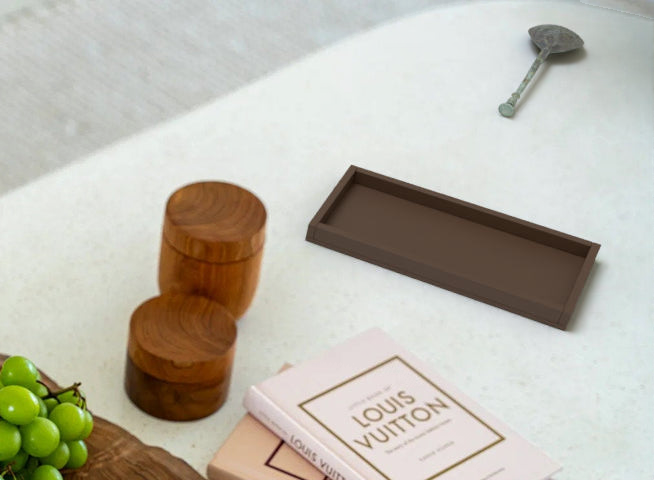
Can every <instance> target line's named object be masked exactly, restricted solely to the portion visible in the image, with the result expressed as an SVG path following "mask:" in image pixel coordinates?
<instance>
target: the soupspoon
mask: <svg viewBox="0 0 654 480" xmlns="http://www.w3.org/2000/svg"><path fill="white" fill-rule="evenodd" d="M527 33H528V36H529V37H530V39H531V40H532V41H533V43H534V44H535V45H536V46H537V47H538V48H539V49H540V52H539V54H538V55H537V57H536V58H535V60H534V62H533V63H532V65H531V66H530V68H529V69H528V71H527V73H526V75H525V77H524V78H523V79H522V81H521V82H520V84H519V86H518V87H517V88H516V91H515V92H513V93H511V97H509V98H508V99H507V100H506V101H505V102H503V103H501V104H499V106H498V107H497V110H498V112H499V114H500V115H501V116H504V117H512V116H513V115H514V114H515V106H516V104H518V100H520V98H521V96H522V93H523V92H524V91H525V89H526V88H527V87H528V85H529V84H530V83H531V81H532V79H533V78H534V77H535V75H536V73H537V71H538V70H539V69H540V67H541V66H542V65H543V63H544V62H545V60H546V59H547V58H548V57H549V55H550V54H559V53H565V52H569V51H573V50H577V49H580V48H582V47H584V45H585V41H584V40H583V38H582V37H581V36H580V35H579V34H577V33H576V32H575V31H574V30H572V29H569V28H567V27H565V26H562V25H559V24H558V25H557V24H551V23H546V24H544V23H543V24H538V25H535V26H532V27H530V28H528V30H527Z"/></svg>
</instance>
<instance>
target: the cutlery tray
mask: <svg viewBox="0 0 654 480" xmlns="http://www.w3.org/2000/svg"><path fill="white" fill-rule="evenodd" d="M304 240H305V241H307V242H309V243H313V244H316V245H318V246H320V247H324V248H327V249H330V250H333V251H336V252H339V253H341V254H344V255H346V256H350V257H352V258H356V259H359V260H362V261H364V262H367V263H370V264H373V265H375V266H378V267H381V268H384V269H386V270H390V271H393V272H396V273H398V274H401V275H404V276H407V277H411V278H413V279H416V280H418V281H421V282H424V283H427V284H429V285H432V286H436V287H439V288H441V289H444V290H447V291H449V292H453V293H456V294H458V295H461V296H463V297H467V298H470V299H473V300H476V301H478V302H482V303H484V304H487V305H490V306H493V307H495V308H498V309H502V310H504V311H507V312H510V313H512V314H516V315H519V316H521V317H524V318H526V319H529V320H532V321H535V322H538V323H541V324H544V325H547V326H550V327H553V328H556V329H559V330H562V331H566V329H567V326H568V325H569V322H570V320H571V318H572V316H573V313H574V311H575V309H576V306H577V304H578V302H579V299H580V296H581V295H582V292H583V290H584V287H585V285H586V283H587V280H588V279H589V278H588V277H589V275H590V273H591V271H592V269H593V266H594V264H595V261H596V259H597V257H598V254H599V251H600V249H601V247H602V244H600V243H597V242H595V241H591V240H588V239H585V238H583V237H578V236H576V235H572V234H569V233H567V232H564V231H560V230H557V229H554V228H551V227H547V226H544V225H541V224H538V223H535V222H532V221H529V220H525V219H522V218H519V217H516V216H513V215H510V214H507V213H504V212H500V211H497V210H494V209H491V208H489V207H488V208H487V207H485V206H482V205H479V204H476V203H472V202H469V201H468V200H467V201H466V200H464V199H460V198H457V197H453V196H450V195H449V194H446V193H445V194H444V193H441V192H438V191H435V190H432V189H429V188H426V187H422V186H420V185H416V184H413V183H410V182H408V181H407V182H406V181H404V180H400V179H397V178H395V177H392V176H389V175H385V174H383V173H379V172H376V171H373V170H369V169H367V168H364V167H360V166H358V165H354V164H350V165H349V167H348V168H347V169H346V171H345V172H344V174H343V175H342V176H341V178H340V179H339V181H338V182H337V183H336V185H335V187H333V189H332V191H331V192H330V193H329V195H328V196H327V197H326V199H325V200H324V201H323V203H322V204H321V206H320V207H319V208H318V210H317V211H316V213H315V214H314V216H313V217H312V219H311V220H310V221H309V223H308V225H307V229H306V234H305V238H304Z"/></svg>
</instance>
